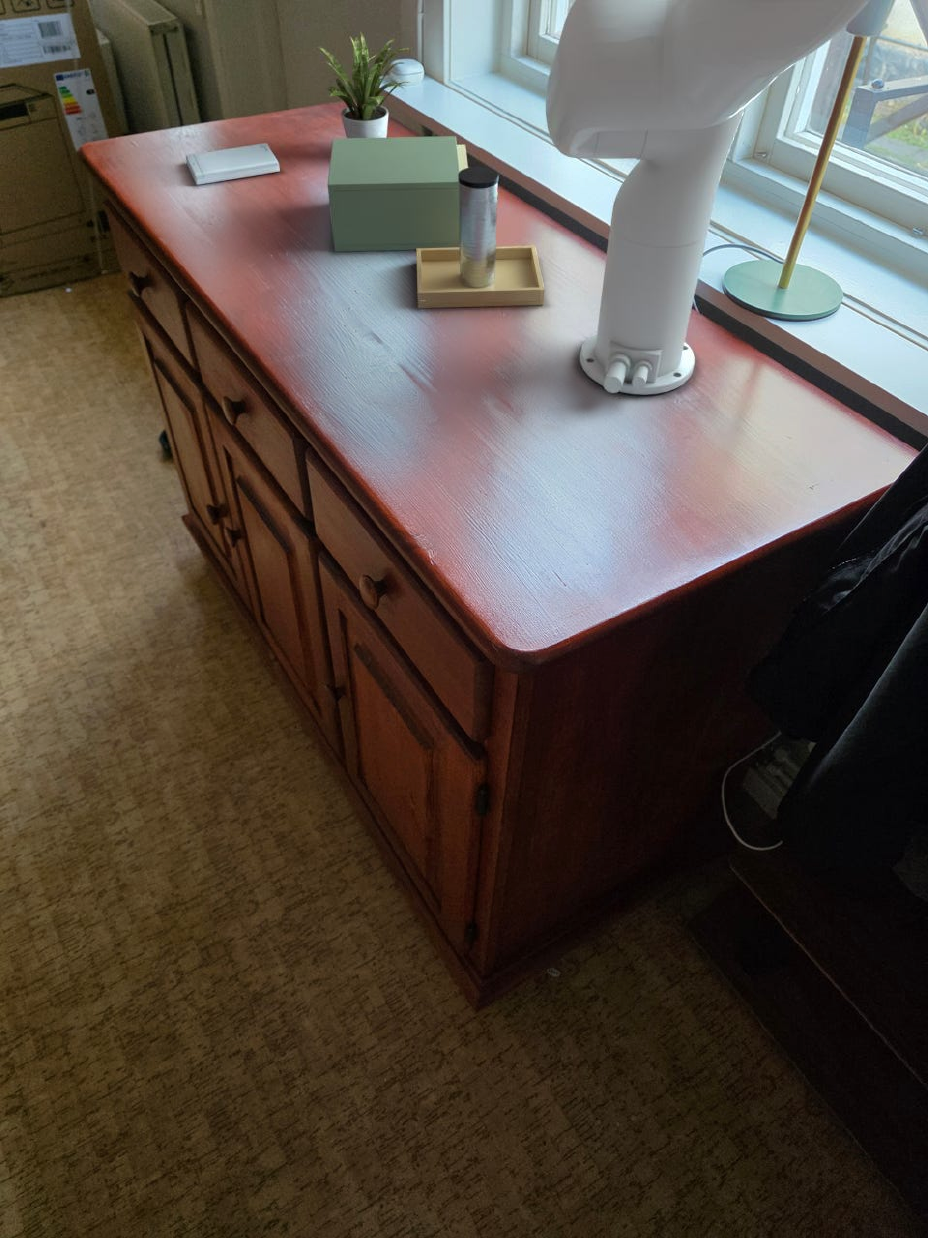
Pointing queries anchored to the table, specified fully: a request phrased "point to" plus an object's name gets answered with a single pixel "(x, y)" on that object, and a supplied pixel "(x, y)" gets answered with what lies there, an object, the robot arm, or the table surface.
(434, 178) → the cabinet
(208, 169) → the hard drive
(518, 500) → the table surface
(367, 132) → the house plant
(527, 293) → the tray
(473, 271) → the canister
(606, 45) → the robot arm
